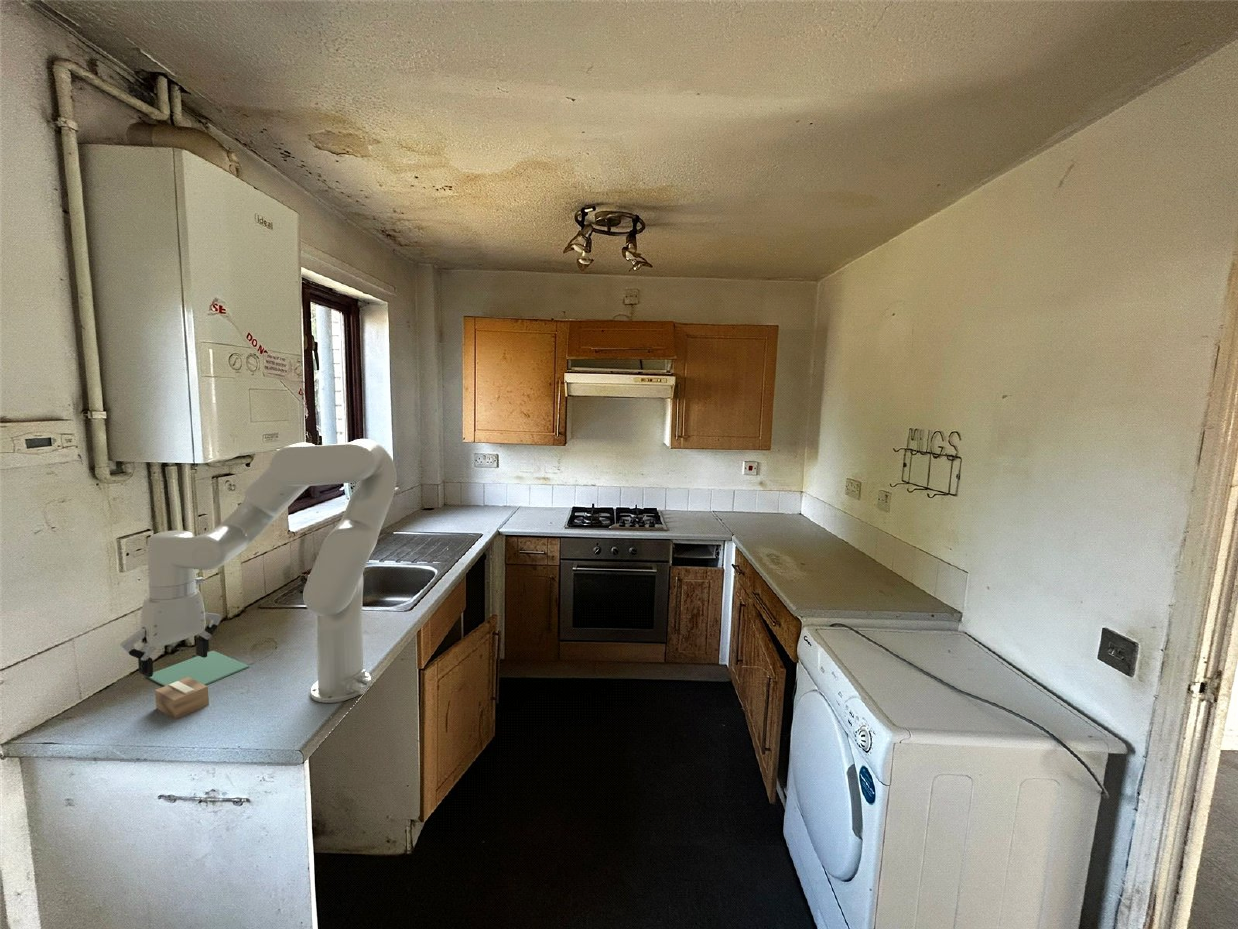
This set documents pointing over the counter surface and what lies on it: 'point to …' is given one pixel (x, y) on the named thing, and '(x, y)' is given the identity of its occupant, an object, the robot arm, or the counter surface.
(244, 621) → the counter surface
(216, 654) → the play mat
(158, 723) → the counter surface
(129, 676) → the counter surface
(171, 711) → the cardboard box
